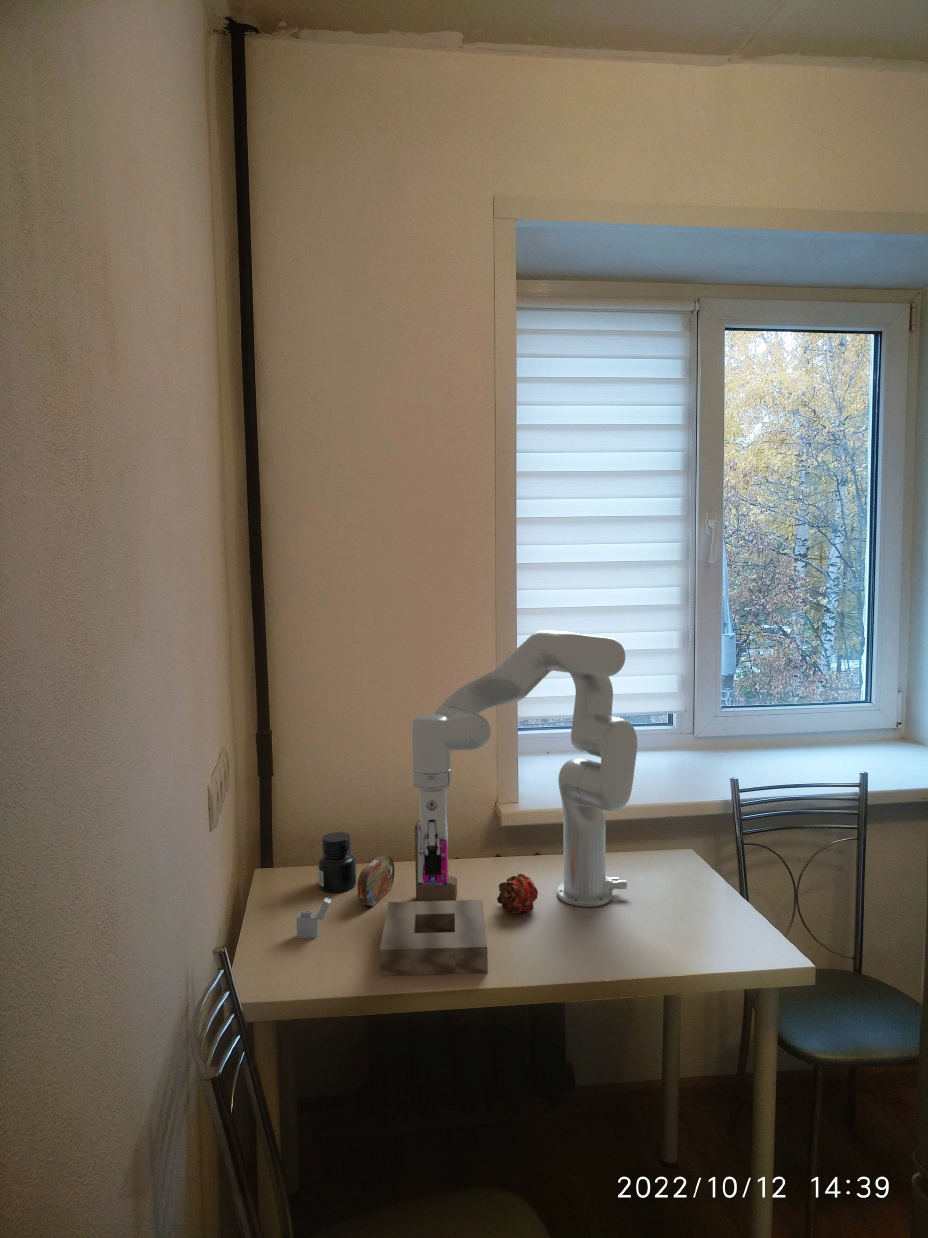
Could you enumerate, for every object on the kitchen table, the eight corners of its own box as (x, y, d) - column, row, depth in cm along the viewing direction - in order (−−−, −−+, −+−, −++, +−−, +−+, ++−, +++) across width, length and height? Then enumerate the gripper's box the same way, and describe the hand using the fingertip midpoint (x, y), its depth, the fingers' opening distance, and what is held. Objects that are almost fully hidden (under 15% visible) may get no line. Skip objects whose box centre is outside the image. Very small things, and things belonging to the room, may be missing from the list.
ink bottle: (329, 876, 185) (328, 828, 184) (362, 879, 182) (361, 831, 182) (311, 892, 175) (310, 842, 175) (346, 896, 173) (344, 845, 172)
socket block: (482, 922, 159) (482, 900, 158) (487, 973, 139) (487, 947, 138) (388, 925, 158) (388, 902, 158) (380, 976, 138) (379, 949, 138)
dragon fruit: (508, 930, 158) (519, 913, 170) (540, 909, 157) (549, 894, 168) (486, 895, 160) (498, 881, 172) (518, 874, 159) (527, 861, 170)
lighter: (296, 938, 153) (295, 900, 153) (299, 934, 155) (298, 896, 154) (330, 938, 153) (329, 900, 152) (332, 934, 154) (331, 897, 154)
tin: (368, 912, 164) (367, 875, 164) (355, 910, 165) (354, 873, 165) (396, 885, 179) (395, 851, 178) (384, 883, 180) (383, 849, 179)
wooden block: (457, 895, 172) (456, 819, 171) (455, 904, 168) (454, 826, 167) (418, 894, 173) (417, 818, 172) (415, 903, 168) (414, 825, 167)
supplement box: (417, 886, 145) (416, 828, 144) (420, 874, 151) (419, 818, 150) (447, 886, 144) (446, 828, 144) (448, 874, 150) (448, 818, 150)
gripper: (451, 790, 138) (452, 885, 139) (450, 766, 155) (452, 851, 156) (410, 791, 138) (412, 886, 139) (414, 767, 155) (416, 852, 156)
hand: (433, 867), depth 147 cm, fingers closed on supplement box, 5 cm apart
